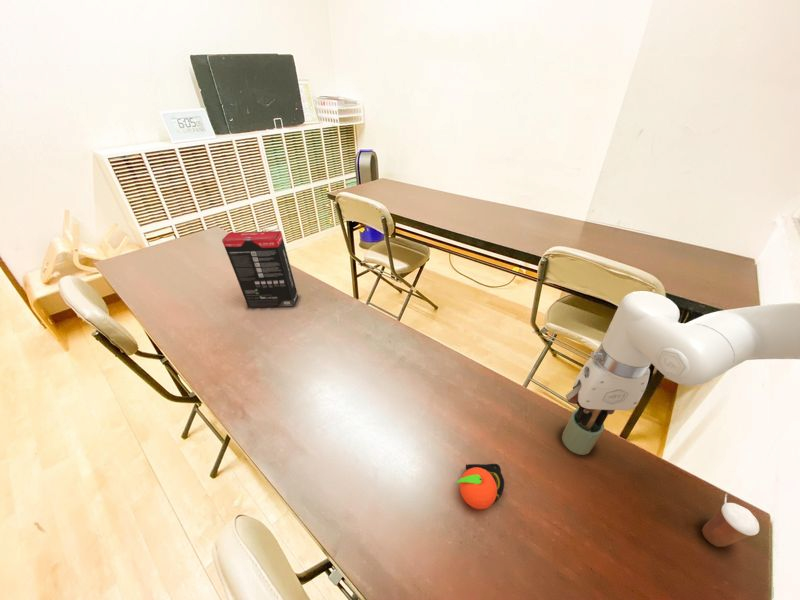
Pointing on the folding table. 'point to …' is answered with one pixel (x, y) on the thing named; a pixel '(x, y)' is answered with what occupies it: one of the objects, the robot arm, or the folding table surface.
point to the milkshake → (730, 525)
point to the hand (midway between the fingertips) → (588, 419)
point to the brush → (593, 418)
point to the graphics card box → (262, 268)
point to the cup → (580, 436)
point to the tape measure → (496, 474)
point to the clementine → (478, 488)
